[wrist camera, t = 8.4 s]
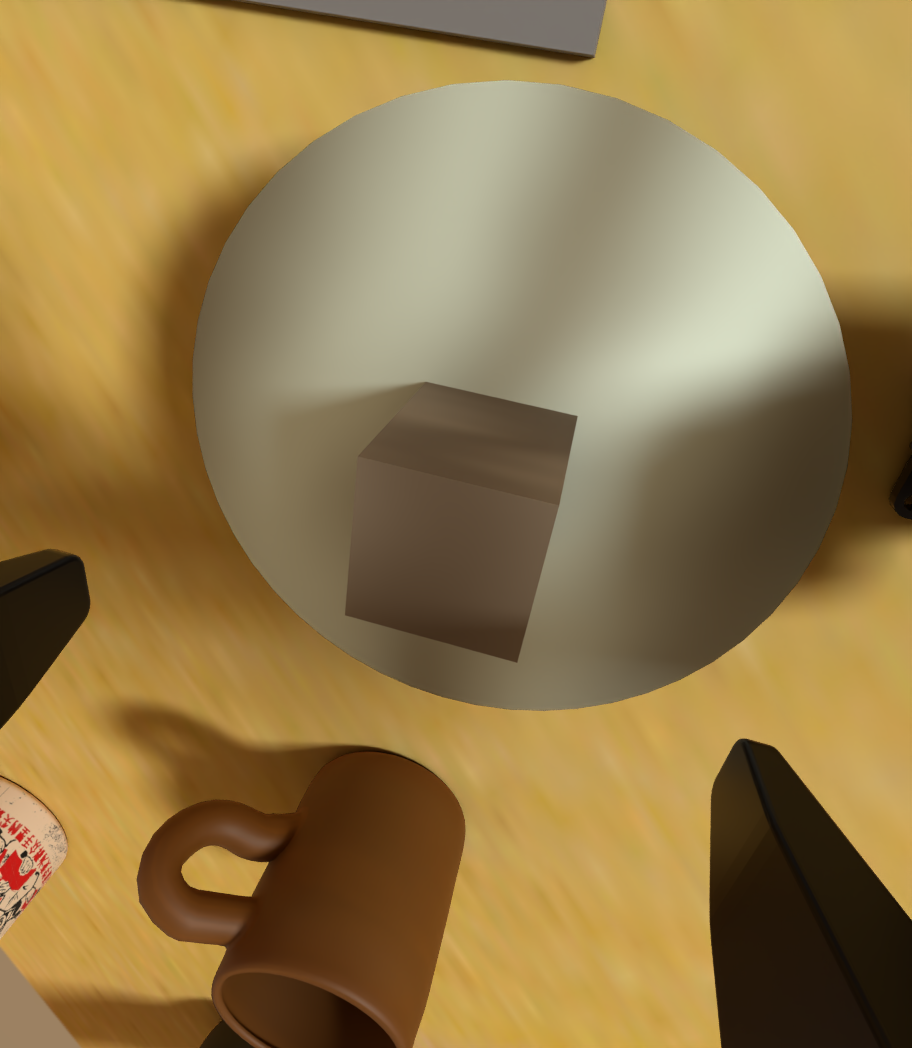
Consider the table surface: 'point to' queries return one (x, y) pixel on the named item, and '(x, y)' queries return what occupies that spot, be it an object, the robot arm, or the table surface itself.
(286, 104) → the table surface
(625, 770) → the table surface
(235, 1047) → the cola bottle
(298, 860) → the mug
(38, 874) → the teacup with lid
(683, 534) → the lid
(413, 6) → the mat
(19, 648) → the robot arm
